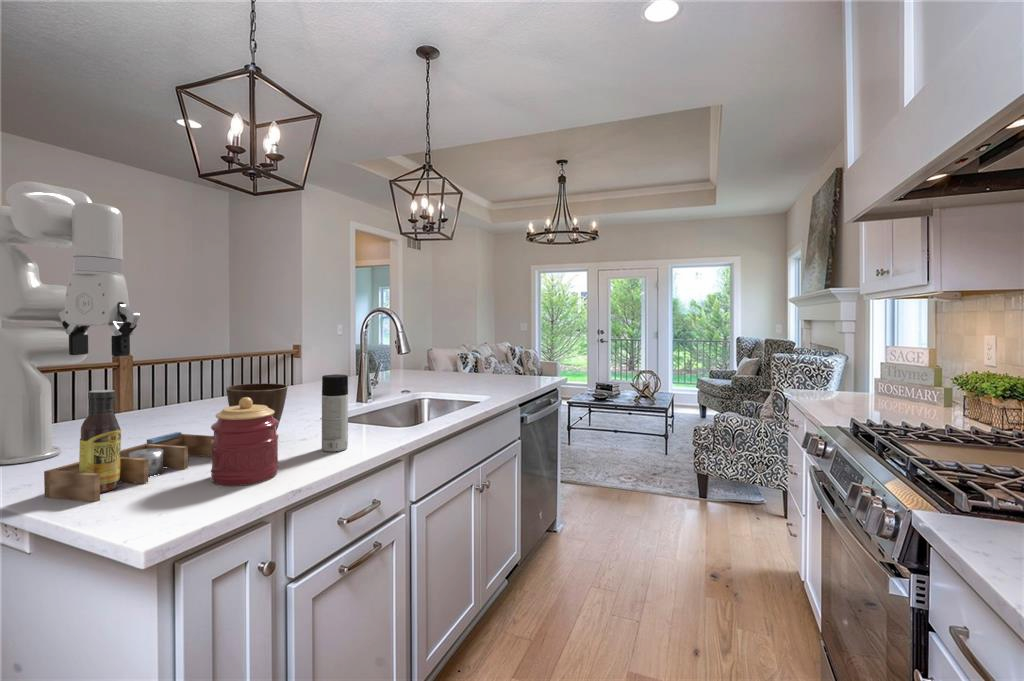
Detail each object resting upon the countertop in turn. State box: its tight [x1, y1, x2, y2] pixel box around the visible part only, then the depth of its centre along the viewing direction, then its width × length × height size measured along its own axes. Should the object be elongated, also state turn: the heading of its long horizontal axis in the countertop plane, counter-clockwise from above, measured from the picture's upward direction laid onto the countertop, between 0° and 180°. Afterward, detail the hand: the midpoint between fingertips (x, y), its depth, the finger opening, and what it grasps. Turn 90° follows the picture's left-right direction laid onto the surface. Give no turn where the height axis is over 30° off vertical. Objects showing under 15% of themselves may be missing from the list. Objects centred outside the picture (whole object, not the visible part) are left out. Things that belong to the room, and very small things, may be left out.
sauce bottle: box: [78, 389, 122, 494], centre depth 94 cm, size 6×6×20 cm
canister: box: [210, 397, 280, 487], centre depth 104 cm, size 13×13×18 cm
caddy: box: [43, 431, 214, 503], centre depth 105 cm, size 11×31×6 cm, turn 171°
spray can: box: [321, 374, 349, 453], centre depth 127 cm, size 7×7×20 cm
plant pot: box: [225, 382, 288, 432], centre depth 131 cm, size 15×15×16 cm
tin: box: [129, 448, 164, 478], centre depth 104 cm, size 6×6×5 cm
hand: (99, 355), depth 94 cm, fingers open, 9 cm apart
